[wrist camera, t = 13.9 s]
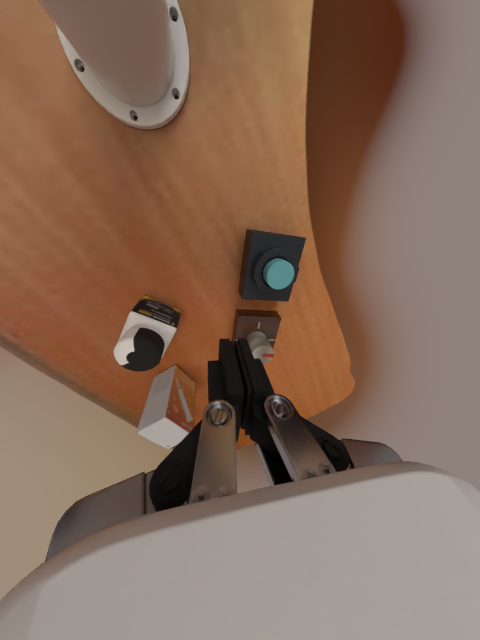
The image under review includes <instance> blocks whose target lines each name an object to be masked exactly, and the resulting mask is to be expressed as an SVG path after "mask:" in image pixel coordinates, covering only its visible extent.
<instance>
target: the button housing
mask: <svg viewBox="0 0 480 640" xmlns="http://www.w3.org/2000/svg"><path fill="white" fill-rule="evenodd" d="M305 240H306V238H303V237H297V236H290V235H283V234H277V233H270V232H263V231H256V230H250V229H247V231H246V239H245V246H244V254H243V261H242V269H241V276H240V284H239V293H240V295H241V297H242V299H257V300H274V301H289V297H290V294H291V290H292V287H293V283H294V282H295V281H296V278H297V274H298V271H299V267H298V265H299V261H300V258H301V254H302V251H303V247H304V244H305ZM275 258H280V259H283V260H285V261H287V262H289V263H290V264H291V265H292V266H293V268H294V277H293V280H292V282H291V283H290V284H289V285H288V286H287V287H285V288H283V289H273V288H272V287H270V286H269V285H268V284H267V283H266V282H265V280H264V278H263V270H264V267H265V266H266V264H267V263H268V262H269V261H271V260H272V259H275Z"/></svg>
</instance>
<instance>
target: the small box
mask: <svg viewBox="0 0 480 640" xmlns="http://www.w3.org/2000/svg"><path fill="white" fill-rule="evenodd" d="M195 395H196V383H195V382H194V381H193V380H192V379H190V378H189V377H188V376H187V375H186V374H185V373H184V372H183V371H182V370H181V369H180V368H179V367H177V366H176V365H174V366H172V367H171V368H169V369H167V370H165V371H164V372H162V373H160V374H158V375H157V376H155V377H154V379H153V382H152V385H151V388H150V391H149V395H148V398H147V401H146V404H145V407H144V410H143V413H142V416H141V420H140V423H139V426H138V429H137V433H138V434H139V435H141V436H143V437H145V438H147V439H148V440H150V441H151V442H153V443H156V444H158V445H160V446H162V447H164V448H166V449H169V448H171V447H173V446H175V445H177V444H179V443H180V442H181V441H182V440H183V439H184V438H185V437H186V436H187V435H188V434H189V433H190V431H191V430H192V429H193V428H194V413H195Z"/></svg>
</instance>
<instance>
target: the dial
mask: <svg viewBox="0 0 480 640" xmlns="http://www.w3.org/2000/svg"><path fill="white" fill-rule="evenodd" d="M247 340H248V343H249V346H250V349H251V351H252V354H253V357H254V359H256V358H259V359H260V360H261V362H262V364H263V363H266V362H268V361H269V360H271V358H272V357H274V351H273V349H272V347H271V345H270V343H269V342H268V340H267V338H266V336H265V334H264V333H262V332H260V331H255V332H252V333H250V334H249V335H248V336H247Z"/></svg>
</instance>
